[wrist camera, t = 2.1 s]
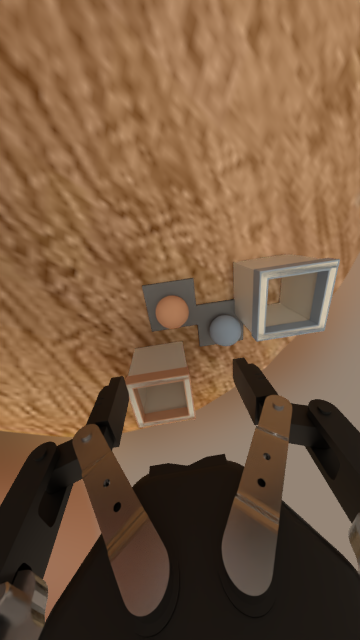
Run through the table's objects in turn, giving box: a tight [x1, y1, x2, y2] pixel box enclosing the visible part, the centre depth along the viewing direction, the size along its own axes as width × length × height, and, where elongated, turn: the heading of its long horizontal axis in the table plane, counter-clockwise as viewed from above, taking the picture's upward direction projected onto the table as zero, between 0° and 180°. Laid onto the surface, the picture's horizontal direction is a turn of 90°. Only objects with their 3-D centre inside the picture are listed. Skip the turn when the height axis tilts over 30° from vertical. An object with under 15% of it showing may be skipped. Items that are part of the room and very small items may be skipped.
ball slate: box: [210, 315, 241, 346], centre depth 27 cm, size 4×4×4 cm
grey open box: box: [125, 341, 196, 428], centre depth 28 cm, size 8×8×8 cm
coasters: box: [142, 278, 243, 347], centre depth 28 cm, size 11×14×1 cm
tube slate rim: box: [233, 254, 340, 341], centre depth 23 cm, size 8×8×8 cm
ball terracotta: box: [156, 296, 189, 329], centre depth 25 cm, size 4×4×4 cm
